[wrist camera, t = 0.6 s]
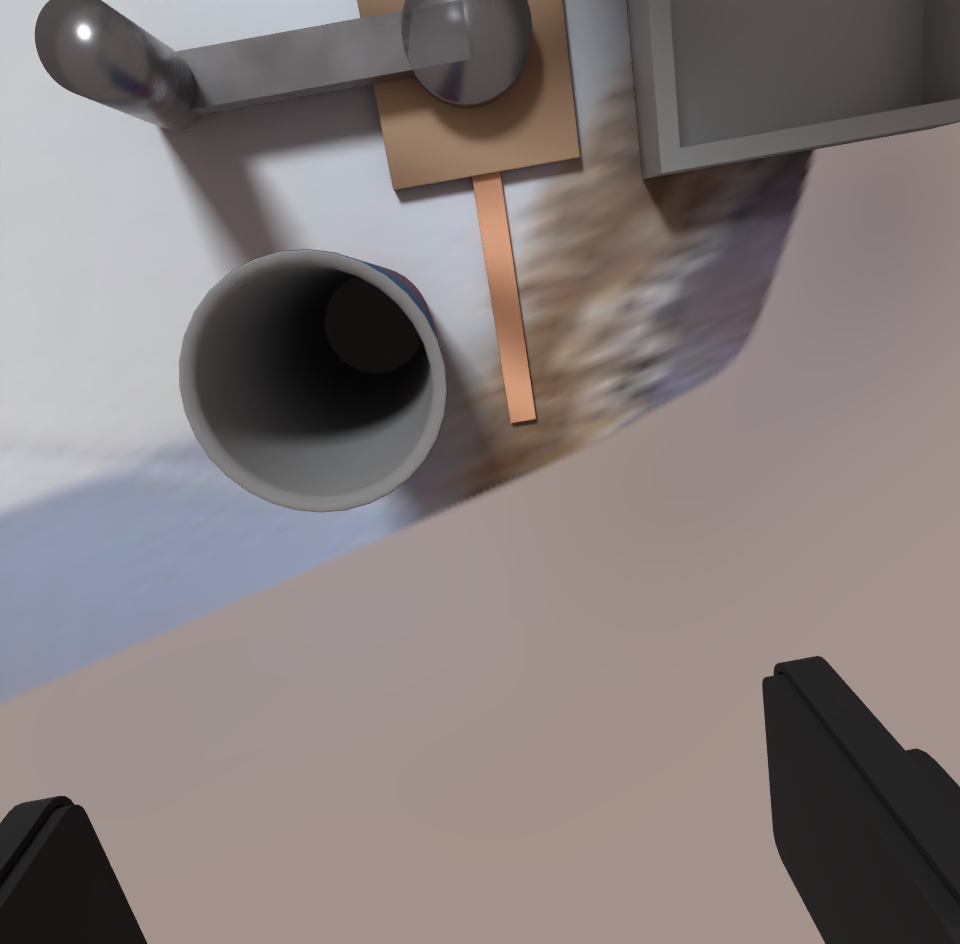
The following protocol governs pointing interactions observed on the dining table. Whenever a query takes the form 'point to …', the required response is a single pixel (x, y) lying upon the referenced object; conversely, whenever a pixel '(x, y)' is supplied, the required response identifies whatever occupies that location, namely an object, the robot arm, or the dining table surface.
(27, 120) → the dining table surface
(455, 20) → the crank
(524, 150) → the crank base
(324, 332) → the cup
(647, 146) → the tray
